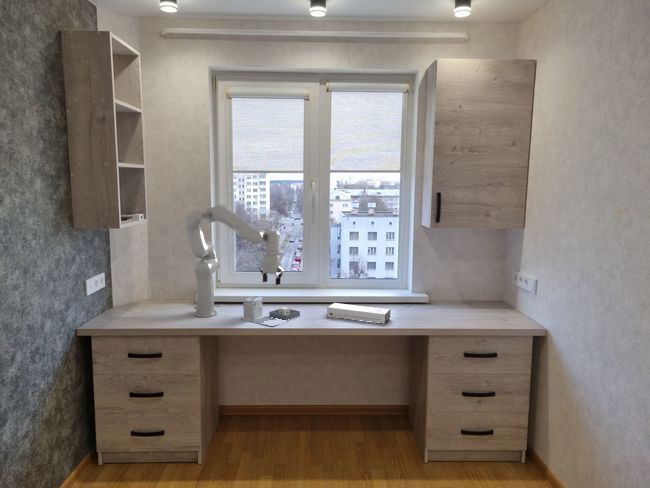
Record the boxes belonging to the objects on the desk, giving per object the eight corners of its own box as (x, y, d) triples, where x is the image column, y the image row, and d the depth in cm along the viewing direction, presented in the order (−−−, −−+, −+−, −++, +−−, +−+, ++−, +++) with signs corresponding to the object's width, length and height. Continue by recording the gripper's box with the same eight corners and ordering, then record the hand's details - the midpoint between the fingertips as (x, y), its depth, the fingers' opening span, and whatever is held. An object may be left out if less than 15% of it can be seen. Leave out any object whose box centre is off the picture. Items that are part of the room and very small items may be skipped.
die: (278, 315, 249) (278, 307, 249) (284, 314, 253) (284, 306, 252) (284, 317, 246) (284, 309, 246) (290, 315, 250) (290, 307, 249)
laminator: (390, 320, 248) (390, 309, 247) (384, 325, 237) (385, 314, 236) (334, 312, 261) (334, 302, 260) (326, 318, 250) (326, 307, 249)
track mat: (240, 319, 243) (240, 318, 243) (255, 314, 253) (255, 313, 253) (272, 327, 230) (272, 326, 229) (287, 322, 239) (287, 321, 239)
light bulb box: (252, 314, 252) (252, 295, 251) (262, 315, 250) (262, 296, 248) (242, 319, 242) (242, 299, 241) (253, 320, 240) (253, 301, 238)
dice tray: (269, 317, 248) (269, 311, 248) (283, 312, 258) (283, 307, 258) (285, 321, 241) (285, 315, 241) (299, 316, 251) (299, 311, 251)
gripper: (256, 251, 246) (255, 281, 248) (279, 255, 236) (278, 286, 238) (265, 250, 252) (264, 280, 254) (288, 254, 242) (287, 284, 244)
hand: (271, 283), depth 246 cm, fingers open, 9 cm apart
